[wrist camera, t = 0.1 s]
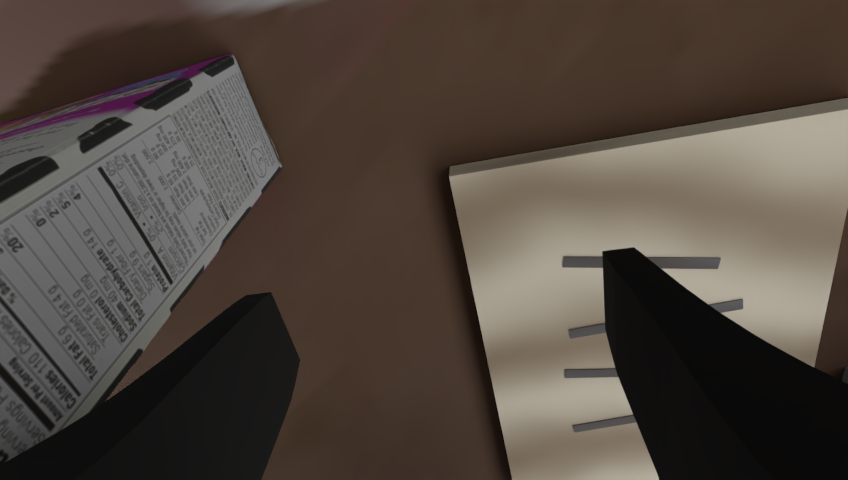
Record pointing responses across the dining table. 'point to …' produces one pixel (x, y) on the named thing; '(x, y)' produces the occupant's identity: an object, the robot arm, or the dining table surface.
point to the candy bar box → (114, 231)
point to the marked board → (661, 243)
